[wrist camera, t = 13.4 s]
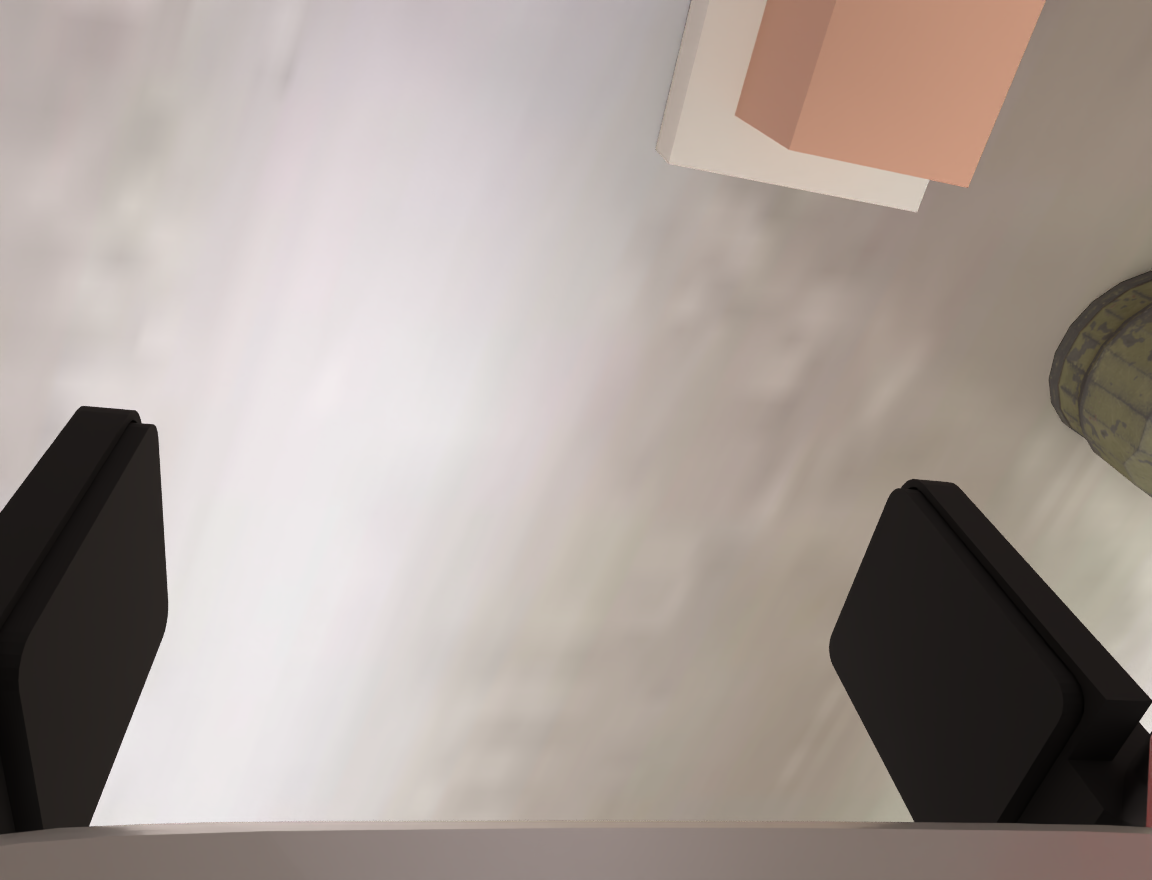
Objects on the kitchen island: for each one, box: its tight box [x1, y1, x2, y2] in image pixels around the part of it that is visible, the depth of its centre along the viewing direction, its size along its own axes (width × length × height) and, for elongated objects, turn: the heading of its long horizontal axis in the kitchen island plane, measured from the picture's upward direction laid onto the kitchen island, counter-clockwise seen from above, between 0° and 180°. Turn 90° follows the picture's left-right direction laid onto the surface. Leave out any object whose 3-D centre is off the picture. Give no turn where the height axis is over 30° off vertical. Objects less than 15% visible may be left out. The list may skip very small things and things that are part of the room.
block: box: [655, 0, 929, 212], centre depth 32 cm, size 10×10×2 cm
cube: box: [735, 0, 1046, 188], centre depth 28 cm, size 6×6×6 cm
